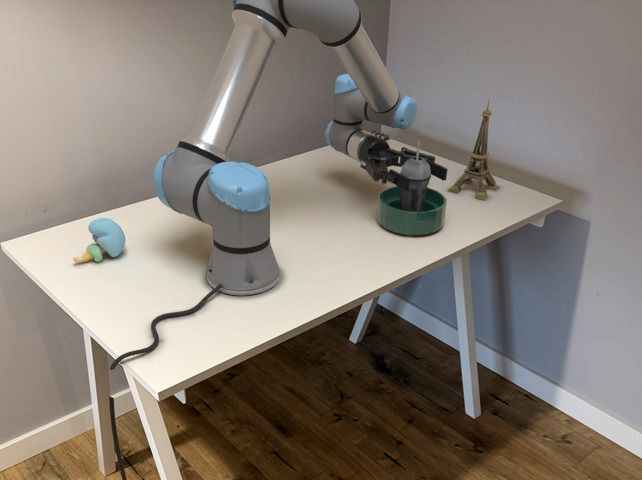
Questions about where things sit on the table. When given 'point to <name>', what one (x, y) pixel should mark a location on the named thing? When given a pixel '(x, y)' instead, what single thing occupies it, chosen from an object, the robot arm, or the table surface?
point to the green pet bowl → (411, 213)
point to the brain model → (103, 240)
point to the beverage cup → (415, 183)
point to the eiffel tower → (482, 170)
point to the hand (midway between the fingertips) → (427, 179)
